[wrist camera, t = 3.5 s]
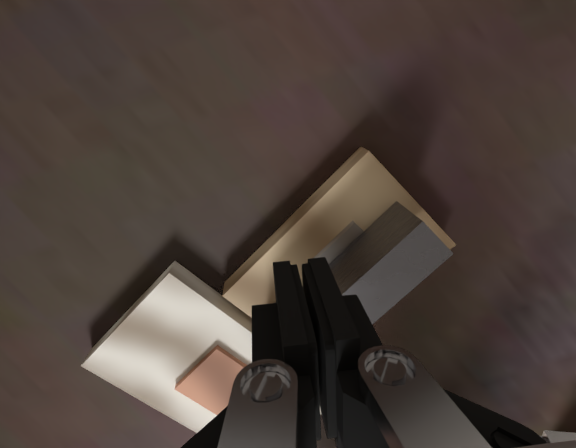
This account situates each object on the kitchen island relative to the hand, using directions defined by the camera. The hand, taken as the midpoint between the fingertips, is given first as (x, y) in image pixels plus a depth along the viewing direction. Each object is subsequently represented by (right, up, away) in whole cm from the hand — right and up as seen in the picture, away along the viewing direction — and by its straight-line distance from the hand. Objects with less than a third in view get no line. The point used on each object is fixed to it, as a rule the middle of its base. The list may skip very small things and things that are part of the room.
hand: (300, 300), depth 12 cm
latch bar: (+3, -1, +15) cm, 15 cm away
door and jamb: (-1, -4, +18) cm, 19 cm away
